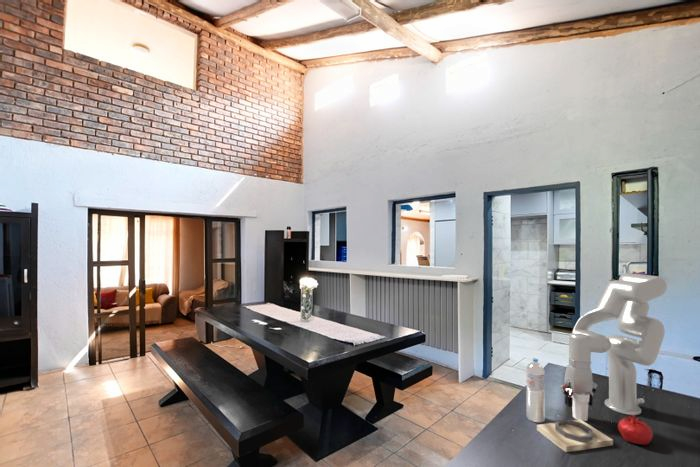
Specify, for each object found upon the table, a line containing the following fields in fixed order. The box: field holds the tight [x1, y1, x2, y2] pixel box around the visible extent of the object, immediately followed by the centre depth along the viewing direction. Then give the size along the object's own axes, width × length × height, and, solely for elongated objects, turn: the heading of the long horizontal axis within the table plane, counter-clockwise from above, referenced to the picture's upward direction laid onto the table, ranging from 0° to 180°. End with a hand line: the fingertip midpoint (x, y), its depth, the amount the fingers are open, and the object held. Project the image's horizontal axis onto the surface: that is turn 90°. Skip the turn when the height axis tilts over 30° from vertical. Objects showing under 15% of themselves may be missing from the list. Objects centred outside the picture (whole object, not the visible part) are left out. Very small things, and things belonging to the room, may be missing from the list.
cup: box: [571, 389, 590, 422], centre depth 143 cm, size 7×7×11 cm
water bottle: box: [525, 358, 546, 424], centre depth 142 cm, size 7×7×25 cm
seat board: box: [536, 418, 614, 453], centre depth 129 cm, size 20×14×4 cm
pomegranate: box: [617, 415, 654, 446], centre depth 128 cm, size 10×10×9 cm
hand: (578, 404), depth 143 cm, fingers open, 9 cm apart
